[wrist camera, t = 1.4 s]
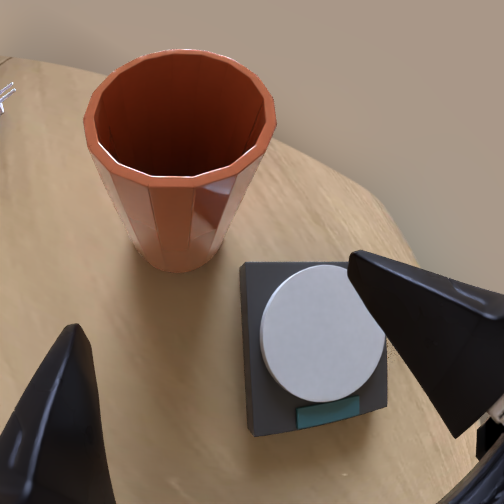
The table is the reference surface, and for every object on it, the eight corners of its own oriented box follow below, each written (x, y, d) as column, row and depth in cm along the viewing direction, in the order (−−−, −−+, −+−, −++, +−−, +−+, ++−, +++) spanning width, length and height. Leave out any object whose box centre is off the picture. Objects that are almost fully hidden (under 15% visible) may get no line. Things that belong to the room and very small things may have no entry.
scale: (373, 402, 21) (393, 408, 18) (247, 428, 18) (257, 441, 16) (365, 266, 24) (385, 259, 21) (239, 267, 21) (247, 258, 19)
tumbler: (224, 273, 21) (285, 193, 9) (130, 272, 19) (63, 189, 7) (222, 187, 23) (267, 57, 10) (137, 185, 21) (110, 51, 9)
